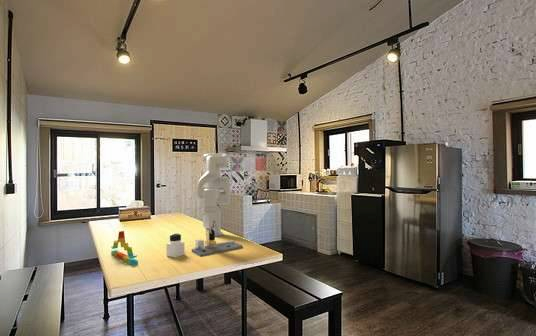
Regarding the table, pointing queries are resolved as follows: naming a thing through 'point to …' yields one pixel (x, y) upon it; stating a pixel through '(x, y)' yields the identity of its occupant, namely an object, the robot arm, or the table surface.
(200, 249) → the bolt plate
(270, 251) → the table surface
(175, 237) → the medicine bottle
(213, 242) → the brass slider
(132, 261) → the multicolored stepped triangle frame
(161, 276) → the table surface
